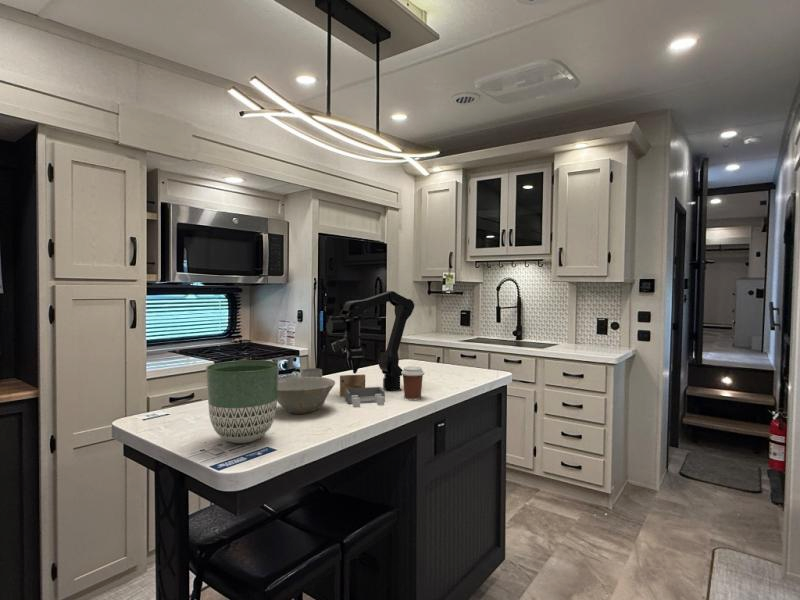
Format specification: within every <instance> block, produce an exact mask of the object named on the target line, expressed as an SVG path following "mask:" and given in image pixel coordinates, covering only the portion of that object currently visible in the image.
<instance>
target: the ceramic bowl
mask: <svg viewBox="0 0 800 600" xmlns="http://www.w3.org/2000/svg"><path fill="white" fill-rule="evenodd" d="M335 384H336V381H335V380H333V379H332V378H329V377H324V376H322V377H301V376H293V377H292V376H291V377H286V378H285V377H284V378H280V379H279V378H278V392H277V403H278V404H279V405H280V406H281V407H283V408H284V409H285V410H286V411H287V412H289V413H291V414H295V415H298V414H299V415H304V414H307V413H310V412H314V411H316V410H318V409H320V408H321V407H322V406H324V404H325V401H326V400H327V397H328V396H329V394H330V392H331V390H332V389H333V388H334V386H335Z"/></svg>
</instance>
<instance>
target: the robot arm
mask: <svg viewBox="0 0 800 600" xmlns="http://www.w3.org/2000/svg"><path fill="white" fill-rule="evenodd" d="M388 302H389V303H390V304H391V305H392V306H393V307H394V316H395V317H394V318H395V319H394V323H393V326H392V329H391V333H390V336H389V340H388V344H387V347H386V349H385V351H384V352H382V351H381V352H380V354H379V358H378V360H377V362H378V368H379V369H380V370H381V373H382V374H383V375H384V377H383V378H382V387H383V388H382V389H383V390H384V391H385V392H386V391H388V392H391V391H402V388H401V377H403V375H402V374H401V372H402V371H403V370H404V369H403V368H402V367H401V366H399V363H400V359H399V358H400V357H399V349H400V345H401V342H402V338H403V335H404V331H405V327H406V323H407V320H408V319H409V318H410V317H411V316H412V313H413V311H414V309H415V303H414V301H413V300H412V299H411V298H406V297H405V296H403V295H400V294H399V293H397V292H396V291H393V290H387V291H384V292H382V293H379V294H376V295H373V296H370V297H367V298H364V299H357V300H350V301H349V300H348V301H346V302H345V303H344V305H343V307H342V308H343V309H342V310H341V312H340V313H339V315H338V316H328V320H327V323H326V326H325V327H326V331H327V333H328V334H329V335H334V334H344V333H345V334H344V335H343V338H342V339H338V340H336V341H334V342H332V343H331V347H332V350H333V352H334V353H336V352H339V351H342V353H343V354H344V355H345V356H346V359H347V363H348V369H349V370H352V373H353V374H357V372H358V370H359V367H360V365H361V363H362V361H363V359H364V357H365V350H363V348H362V346H361V339H362V337H361V332H360V331H361V322H364V321H365V318H364V317H363V316H362V314H363V313H365V312H366V311H367V310H369V309H372V308H374V307H377V306H381V305H383V304H385V303H388Z"/></svg>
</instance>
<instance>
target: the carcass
mask: <svg viewBox="0 0 800 600" xmlns="http://www.w3.org/2000/svg"><path fill="white" fill-rule="evenodd" d="M385 393H386V390H385V389H384V388H382V387H381V386H373V387H365V388H350V389H345V396H344V400H345V402H346V403H347V404H348V405H352V407H354V408H355V407H361V404H370V403H371V404H372V403H376V404H377V405H376V406H384V405H385V401H386V399H385V398H386V397H385V396H386V395H385Z"/></svg>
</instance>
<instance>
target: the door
mask: <svg viewBox="0 0 800 600" xmlns="http://www.w3.org/2000/svg"><path fill="white" fill-rule="evenodd" d="M350 388H366V374H365V373H364V374H362V373H361V374H344V375H343V374H342V375H339V396H340V397H345V389H350Z"/></svg>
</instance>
